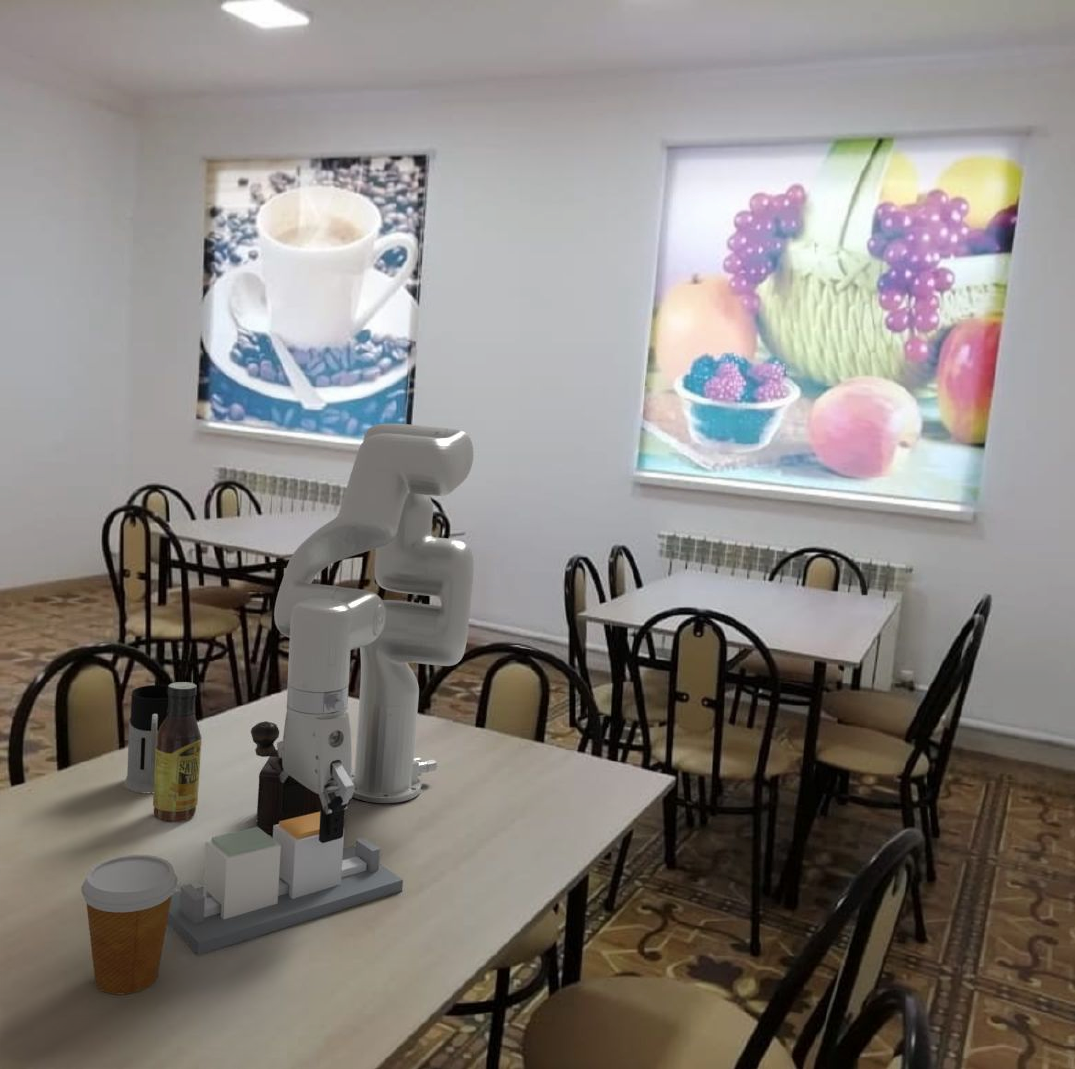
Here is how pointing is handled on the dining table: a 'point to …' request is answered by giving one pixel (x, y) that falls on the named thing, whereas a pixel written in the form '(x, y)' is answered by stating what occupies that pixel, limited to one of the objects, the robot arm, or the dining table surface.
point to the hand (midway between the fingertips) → (311, 824)
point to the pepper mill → (276, 782)
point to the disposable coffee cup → (128, 919)
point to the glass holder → (145, 735)
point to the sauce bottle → (178, 757)
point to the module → (307, 856)
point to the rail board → (283, 910)
